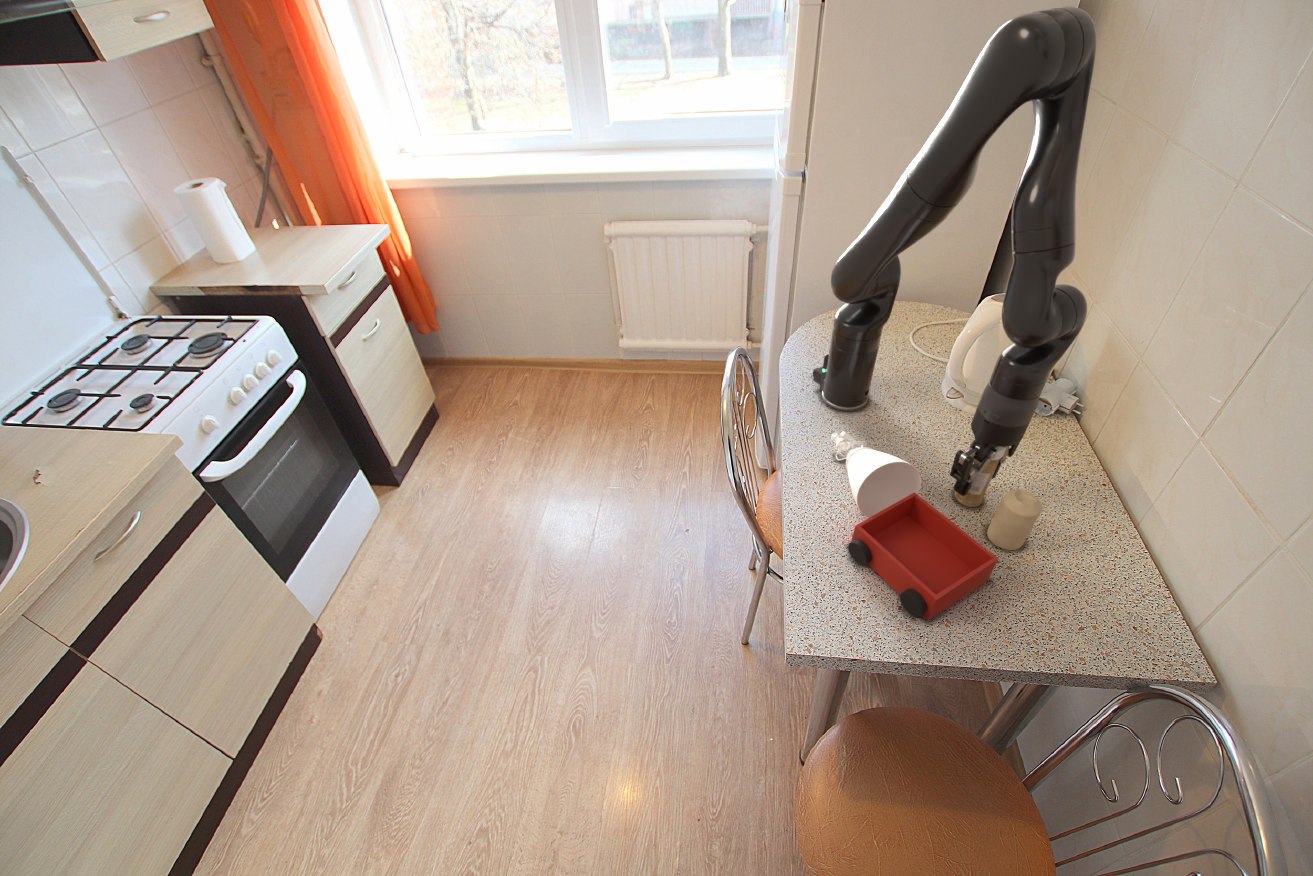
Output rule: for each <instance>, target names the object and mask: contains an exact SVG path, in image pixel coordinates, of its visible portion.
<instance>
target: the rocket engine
mask: <svg viewBox="0 0 1313 876" xmlns="http://www.w3.org/2000/svg"><path fill="white" fill-rule="evenodd" d="M830 437H831V438H830V441H832V443H833V444H835V451H836V453H835V459H836V461H840V462H841V461H845V470H846V473H847V478H848V481H849V482H848V483H849V487H850V490H851V494H852V496H853V499H854V501H855V504H856V506H857V509H858V510H859V511H860V513H861V514H862V515H863V516H865V517H866V518H867V519H868V518H870V517H871V516H873V515H875V514H877V513H879V512H880V511H882V510H884V509H886V508H887V507H889V506H891V505H893V504H895V503H896V502H898V501H900V500H902V499H903V498H905V497H907V496H909V495H911V494H912V493H914V492H915V493H916V494H917V495H919V493H920V491H921V488H922V476H921V473H920V471H919V470H918V468H917V467H915V466H914V465H913V464H912V463H909V462H908V461H906V460H904V459H902V458H900V457H897V456H895V455H893V454H889V453H886V452H883V451H880V450H876V449H874V448H871V447H867V444H866V442H865V441H863V440H853V439H854V437H853V436H852V435H851V434H849V433H848V432H847V431H845V430H842V431H841V433H840V434H838V432H833V433H832V434H831V436H830ZM838 455H840V456H841V458H839V456H838Z"/></svg>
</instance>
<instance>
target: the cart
mask: <svg viewBox="0 0 1313 876" xmlns="http://www.w3.org/2000/svg"><path fill="white" fill-rule="evenodd" d="M854 540H861V541H863V542H864V543H865V544H866V545H867V546H868V548H869V549H870V551H871V555H872V559H871V561H870V562H869V563H867V564H866V565H868V567H870V568H871V569H872V570H873V571H874V572H875V573H876V574H878V576H880V577H881V578H882V579H883V580H884V581H885V582H886V584H888V585H889V586H890V587H891V588H892V589H893V590H894V591H895V592H896V593H897V594H899V595H900V594H901V593H902V592H904V591H905V590H907V589H913V590H915V591H917V592H918V593H919V594H920V595H921V596H922V597H923V599H924V600H925V602H926V605H927V611H926V613H924V614H923V615H921V616H922V617H923V618H924V619H925V620H926V622H927V621H929V620H931V619H932V618H934V617H936V616H937V615H938V614H940V613H941V612H943V611H945V610H947V608H949V607H950V606H952V605H953V604H955V603H956V602H958V601H959V600H961V599H962V598H964V597H966V596H967V595H968V594H970V593H971V592H973V591H974V590H976V589H977V588H979V587H980V586H982V585H983V584H985V583H986V582H988V580H989V579H990V577H991V575H992V573H993V571H994V569H995V567H996V565H997V563H998V562H999V560H1000V559H999V557H997V556H996V555H994V553H993V552H991V551H990V550H988V549H987V548H986V547H985V546H983V545H982V544H981V543H980V542H978V541H977V540H976V539H975V538H973V537H971V535H969V534H968V533H967V532H966V531H964V530H963V529H962V528H960V526H958V525H957V524H955V522H953V521H951V520H950V519H949V518H947V516H945V515H944V514H943V513H941V512H940V511H939V510H938V509H936V508H935V507H934V506H933V505H932V504H930V503H929V502H928V501H927V500H925V499H924V498H922V497H921V496H920V495H919V494H918V495H917V494H916V493H915V492H914V493H912V494H911V495H909V496H907V497H905V498H903V499H902V500H900V501H898V502H896V503H895V504H893V505H891V506H889V507H887V508H886V509H884V510H882V511H880V512H879V513H877V514H875V515H873V516H871V517H870V518H868V517H867V518H866V519H865V520H863V521H861V522H859V523H857V524H855V525H854V529H853V533H852V537H851V541H850V543H851V542H853V541H854Z"/></svg>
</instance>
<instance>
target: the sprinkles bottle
mask: <svg viewBox="0 0 1313 876" xmlns="http://www.w3.org/2000/svg"><path fill="white" fill-rule="evenodd" d="M995 449H997V450H998V451H999V452H997V454H996V456H995V458H993V459H991V461H990V462H989V464H988V465H987V466H986V468H985V469H984V470H983V471H982V472H978V473H977V475H976V476H975V477H974V479H973V481H972V484H971V486H970V489H969V491H968V493H967V494H966V495H965V496H962V495H960V494H959V493H958V492H956V491H954V497H955V499H956V500H957V502H958V503H959V504H961V505H963V506H965V507H967V508H976V507H979V506H980V505H981V504H982V503H983V501H984V497H985V495H986V493H987V491H988V489H989V487H990V485H991V483H992V480H993V479H992V476H993V474H994V472H995V470H996V467H997V465H998V463H999V460H1000V459H1001V458H1002V456H1003V454H1004V452H1005V449H1006V448H1004V447H1000V446H997V447H995ZM987 455H988V454H987ZM973 459H974V458H973ZM974 462H975V463H976V464H978V465H979V466H980V465H981V462H979V461H977V460H976V459H974ZM972 471H973V469H972V468H971V470H970V473H969V474H971V472H972Z"/></svg>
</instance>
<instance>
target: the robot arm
mask: <svg viewBox="0 0 1313 876" xmlns="http://www.w3.org/2000/svg"><path fill="white" fill-rule="evenodd" d="M1097 39H1098V38H1097V27H1096V25H1095V23H1094V20H1093V18H1092V17H1091V15H1090V14H1089V13H1088V12H1087V11H1086V10H1084V9H1082V8H1080V7H1076V6H1061V7H1055V8H1054V7H1053V8H1048V9H1043V10H1038V11H1037V10H1036V11H1031V12H1028V13H1023V14H1020V15H1018V16H1016V17H1013V18H1011V19H1009V20H1008V21H1006V22H1005V23H1004V24H1002V25H1001V26H1000V27H998V29H997V30H996V31H995V32H994V34H993V35H992V36H991V37H990V38H989V40H988V41H987V43H986V44H985V46H984V47H983V49H982V51H981V52H980V53H979V55H978V57H977V58H976V60H975V63H973V65H972V68H971V69H970V71H969V73H968V75H967V76H966V78H965V79H964V82H963V83H962V86H961V87H960V89H959V91H958V92H957V94H956V95H955V97H954V99H953V101H952V103H951V105H950V106H949V108H948V109H947V110H946V112H945V114H944V115H943V117H942V118H941V120H940V121H939V123H938V124H937V125H936V127H935V128H934V130H933V131H932V133H931V134H930V135H929V137H928V138H927V140H926V141H925V143H924V145H923V146H922V147H921V149H920V151H919V152H918V153H917V155H915V157H914V158H913V159H912V160H911V162H910V163H909V165H908V166H907V167H906V169H905V170H904V172H903V173H902V175H901V176H900V177H899V179H898V180H897V182H896V183H895V185H894V186H893V188H892V190H891V191H890V193H889V194H888V195H887V197H886V198H885V200H884V201H883V202H882V203H881V205H880V206H879V208H878V209H877V211H876V212H875V213H874V214H873V217H872V218H871V219H870V221H868V223H867V225H866V226H865V228H864V229H862V231H861V233H860V234H859V235H858V236H857V237H856V238H855V240H853V241H852V242H851V244H850V245H849V246H848V247H847V248H846V249H845V250H844V251H843V252H842V254H841V255H840V256H839V257H838V258H837V259H836V261H835V262H834V265H833V267H832V269H831V273H830V287H831V288H830V289H831V292H832V293H833V296H834V297H835V298H836V299H837V300H838V301H839V302H841V303H844V304H843V305H842V306H841V307H839V308H838V309H837V311H836V313H835V314H834V317H833V318H834V319H833V324H832V331H831V338H830V342H829V343H830V344H829V350H828V353H826V354H824V357H823V363H822V366H820V367H816V368H814V369H813V370H812V377H813V381H814V382H815V383H816V384H818V385H819V389H818V392H819V393H820V394H821V399H822V400H823V402H824V403H825V404H826V405H827V406H828V407H830V408H832V409H835V410H838V411H841V412H842V411H843V412H855V411H857V410H861V409H862V408H864V407H865V406H866V405H867V403H868V399H869V394H870V391H871V390H870V389H871V384H872V380H873V375H874V371H875V366H876V361H877V357H878V352H879V349H880V343H881V339H882V335H883V329H884V327H885V325H886V324H887V323H888V322H889V320H890V317H891V315H892V312H893V308H894V305H895V301H896V298H897V295H898V291H899V287H900V283H901V276H902V266H901V259H900V257H899V255H900V254H902V253H903V252H904V251H906V250H908V249H909V248H911V247H912V246H913V245H915V244H916V243H918V242H919V241H921V240H922V239H924V238H925V237H927V235H929V234H930V233H931V232H932V231H934V230H935V229H937V228H938V227H939V226H940V225H941V224H942V223H943V222H944V221H945V220H946V219H947V218H948V217H949V215H951V214H952V212H953V211H954V210H955V208H957V206H958V205H959V204H960V203H961V201H962V200H963V199H964V198H965V196H966V195H967V194H968V192H969V191H970V189H971V188H972V186H973V184H974V182H975V179H976V175H977V171H978V167H979V162H980V159H981V158H980V157H981V154H982V152H983V150H984V148H985V146H986V145H987V143H988V142H989V141H990V140H991V138H992V137H993V136H994V135H995V133H996V132H998V130H999V129H1000V128H1001V126H1002V125H1003V124H1004V123H1005V122H1006V121H1007V120H1008V119H1009V118H1010V117H1011V116H1012V115H1013V114H1014V113H1015V112H1016V111H1017V110H1018V109H1019V108H1021V107H1022V106H1023V105H1025V104H1026V103H1028V102H1031V105H1032V114H1033V115H1032V117H1033V127H1032V128H1033V131H1032V138H1031V143H1030V148H1029V153H1028V156H1027V160H1026V163H1025V166H1024V168H1023V172H1022V174H1021V177H1020V180H1019V182H1018V185H1017V189H1016V192H1015V195H1014V199H1013V203H1012V208H1011V209H1012V210H1011V255H1012V265H1011V268H1010V272H1009V275H1008V279H1007V283H1006V288H1005V292H1004V296H1003V301H1002V307H1001V324H1002V328H1003V330H1004V333H1005V335H1006V337H1007V338H1008V340H1009V341H1010V342H1011V343H1012V344H1010V345H1008V346H1007V347H1006V348H1004V349H1003V350H1002V351H1001V353H1000V354H999V356H998V358H997V360H996V362H995V365H994V367H993V370H992V374H991V375H990V378H989V380H988V382H987V384H986V385H985V387H984V389H983V391H982V394H981V396H980V399H979V401H978V404H977V406H976V409H975V412H974V415H973V416H972V419H971V423H970V428H971V431H972V434H973V436H974V438H973V440H972V441H971V442H970V445H969V448H968V450H966V451H963V450H962V449H958V450H957V451H956V453H955V455H954V459H953V462H952V467H951V469H950V472H949V476H950V477H951V478H953V479H954V480H956V481H955V483H954V486H953V490H954V492H958V493H959V494H960V495H962V496H965V495H966V494H967V493H968V491H969V489H970V486H971V484H972V481H973V479H974V477H975V476H976V475H977V473H978V472H982V471H983V470H984V469H985V468H986V466H987V465H988V464H989V462H990V461H991V459H993V458H995V456H996V454H997V452H999V451H998V450H997V449H995V447H997V446H1000V447H1004V448H1006V449H1005V452H1004V454H1003V456H1002V458H1001V459H1000V460H999V463H998V465H997V467H996V470H995V472H994V474H993V476H992V480H994V479H995V478H997V475H998V472H999V471H1000V468H1001V467H1002V464H1004V463H1006V462H1007V457H1009V458H1011V457H1013V456H1014V454H1015V452H1016V450H1017V449H1018V447H1019V445H1020V443H1021V441H1022V440H1023V438H1024V436H1025V433H1026V432H1027V429H1028V428H1029V426H1030V423H1031V421H1032V419H1033V416H1034V415H1035V412H1036V410H1037V408H1038V406H1039V401H1040V398H1041V395H1042V393H1043V390H1044V388H1045V386H1046V384H1047V382H1048V379H1049V377H1050V374H1051V372H1052V370H1053V368H1054V367H1055V366H1056V364H1058V362H1059V361H1060V360H1061V359H1062V357H1063V356H1064V355H1065V354H1066V353H1067V351H1068V349H1069V348H1070V347H1071V345H1072V344H1073V343H1074V341H1075V340H1076V339H1077V337H1078V336H1079V334H1080V332H1082V331H1081V330H1082V329H1083V327H1084V325H1085V322H1086V319H1087V316H1088V302H1087V299H1086V296H1085V295H1084V293H1083V292H1082V291H1081V290H1080V289H1079V288H1077V287H1075V286H1073V285H1070V284H1063V283H1062V284H1057V280H1058V278H1059V276H1060V274H1062V273H1063V272H1064V271H1065V270H1066V269H1067V268H1069V267H1070V266H1071V265H1072V263H1073V262H1074V260H1075V256H1076V248H1077V247H1076V241H1077V239H1076V237H1077V236H1076V234H1077V233H1076V221H1077V218H1076V217H1077V216H1076V215H1077V214H1076V212H1077V211H1076V203H1077V201H1076V200H1077V198H1076V197H1077V178H1078V168H1079V161H1080V154H1081V147H1082V140H1083V135H1084V128H1085V122H1086V115H1087V108H1088V103H1089V98H1090V97H1089V96H1090V91H1091V87H1092V86H1091V85H1092V80H1093V74H1094V69H1095V64H1096V63H1095V62H1096V53H1097V43H1098V41H1097ZM987 454H988V455H987ZM973 458H974V459H976V460H977V461H979V462H981V465H980V466H979V465H978V464H976V463H975V462H974V459H973ZM971 468H972V469H973V471H972V472H971V474H969V473H970V470H971Z"/></svg>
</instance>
